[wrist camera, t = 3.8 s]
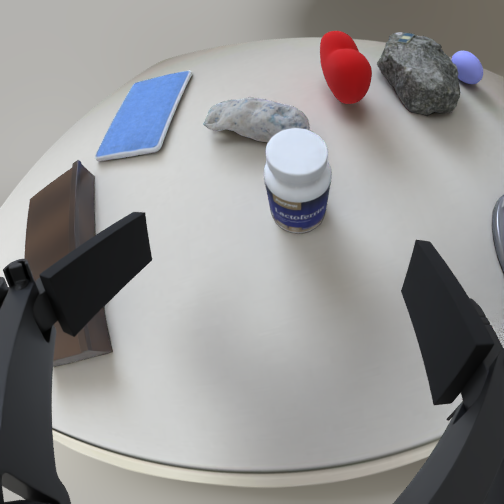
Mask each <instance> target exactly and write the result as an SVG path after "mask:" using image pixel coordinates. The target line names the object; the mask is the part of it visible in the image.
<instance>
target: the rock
mask: <svg viewBox="0 0 504 504" xmlns="http://www.w3.org/2000/svg"><path fill="white" fill-rule="evenodd" d="M389 37H390V38H389V41H388V42H387V43H386V47H385V48H384V51H383V53H382V55H381V58H380V59H379V61H378V62H377V65H378V67H379V69H380V70H381V72H382V73H383V74H384V76H385V77H386V78H387V79H388V81H389V83H390V84H391V85H393V86H394V88H395V90H396V94H397V95H398V96H399V98H400V100H401V101H402V102H403V104H404V105H405V107H406V108H407V109H408V110H409V111H410V112H414V113H419V114H423V115H426V116H428V115H429V114H431V113H433V112H438V113H446V112H449V113H450V112H452V111H453V109H454V108H455V107H456V105H457V101H458V99H459V97H460V87H459V82H458V70H457V67H456V64H454V63H453V62H452V61H451V60H450V58H449V57H448V56H447V55H446V54H444V52H443V51H442V49H441V45H440V44H438V43H436V42H435V41H434V40H432V39H430V38H428V37H425V36H415V35H414V34H409V33H401V32H400V33H394V34H392V35H391V36H389Z"/></svg>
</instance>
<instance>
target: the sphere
mask: <svg viewBox="0 0 504 504" xmlns="http://www.w3.org/2000/svg"><path fill="white" fill-rule="evenodd" d="M451 61H452V62H453V63H454V64H456V67H457V70H458V78H459V79H460V80H461V81H463V82H465V83H467V84H476V83H478V82H479V81H480V80H481V79H482V77H483V68H482V65H481V63H480V61H479V60H478V58H477V57H476V56H474V55H473V54H472V53H470V52H467V51H458V52H457V53H455V54H454V55H453V57H452V60H451Z"/></svg>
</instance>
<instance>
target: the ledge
mask: <svg viewBox="0 0 504 504" xmlns="http://www.w3.org/2000/svg"><path fill="white" fill-rule="evenodd" d="M94 236H95V214H94V175H92V174H91V173H90V172H89V171H88V170H87V169H86V168H85V167H84V166H83V165H82V164H81V162H80V161H79V160H77V161H76V162H74V163H73V166H72V168H71V169H70V170H68V171H67V172H65V173H64V174H62V175H61V176H60V177H58V178H57V179H56V180H54V181H53V182H51V183H50V184H49V185H47V186H46V187H45V188H44V189H42V190H41V191H40V192H38V193H37V194H36V195H35V196H33V197H32V198H31V199H30V204H29V211H28V219H27V229H26V241H25V259H26V260H27V261H28V263H29V266H30V269H31V272H32V274H33V277H34V280H35V281H36V280H37V279H38V278H40V276H39V274H41V273H42V272H43V271H45V270H46V269H47V268H49V267H50V266H52V265H53V264H54V263H56V262H57V261H59V260H60V259H61V258H63V257H64V256H66V255H67V254H68V253H70V252H71V251H73V250H74V249H76V248H77V247H79V246H80V245H82V244H83V243H85V242H86V241H88V240H89V239H91V238H92V237H94ZM54 326H55V328H56V340H55V348H54V359H53V367H54V366H59V365H63V364H67V363H71V362H75V361H79V360H83V359H87V358H91V357H95V356H99V355H103V354H106V353H110V352H112V347H111V343H110V338H109V334H108V329H107V324H106V318H105V313H104V307H103V308H102V309H101V310H100V311H99V312H98V313H97V314H96V315H95V316H94V317H93V318H92V319H91V320H90V321H89V322H88V323H87V324H86V325H85V326H84V327H83V329H82V330H81V331H80V332H79V333H78V334H77V335H76V336H75V337H73V336H71V335H69V334H67V333H65V332H63V330H62V328H61V326H60V324H59V322H58V321H57V322H56V323H55V324H54Z"/></svg>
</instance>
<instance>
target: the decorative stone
mask: <svg viewBox="0 0 504 504" xmlns="http://www.w3.org/2000/svg"><path fill="white" fill-rule="evenodd" d="M203 125H204V126H206V127H207V128H209V129H212V130H213V131H218V130H224V129H227V130H232V131H235V132H236V133H238V134H240V135H242V136H245V137H248V138H252V139H254V140H257V141H261V142H269V140H270V139H271V138H272V137H273V136H274V135H275V134H277V133H279V132H280V131H283V130H286V129H291V128H301V129H306V130H309V128H310V127H309V122H308V119H307V117H306V116H305V115H304V113H303V112H302V111H300V110H298V109H297V108H295V107H294V106H290V105H287V104H280V103H277V102H274V101H270V100H266V99H259V98H253V97H248V98H244V99H240V100H228V101H224V102H221V103H219V104H216V105H214V106H213V107H211V108H210V110H209V112H208V115H207V116H206V119H205V122H204V123H203Z"/></svg>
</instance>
